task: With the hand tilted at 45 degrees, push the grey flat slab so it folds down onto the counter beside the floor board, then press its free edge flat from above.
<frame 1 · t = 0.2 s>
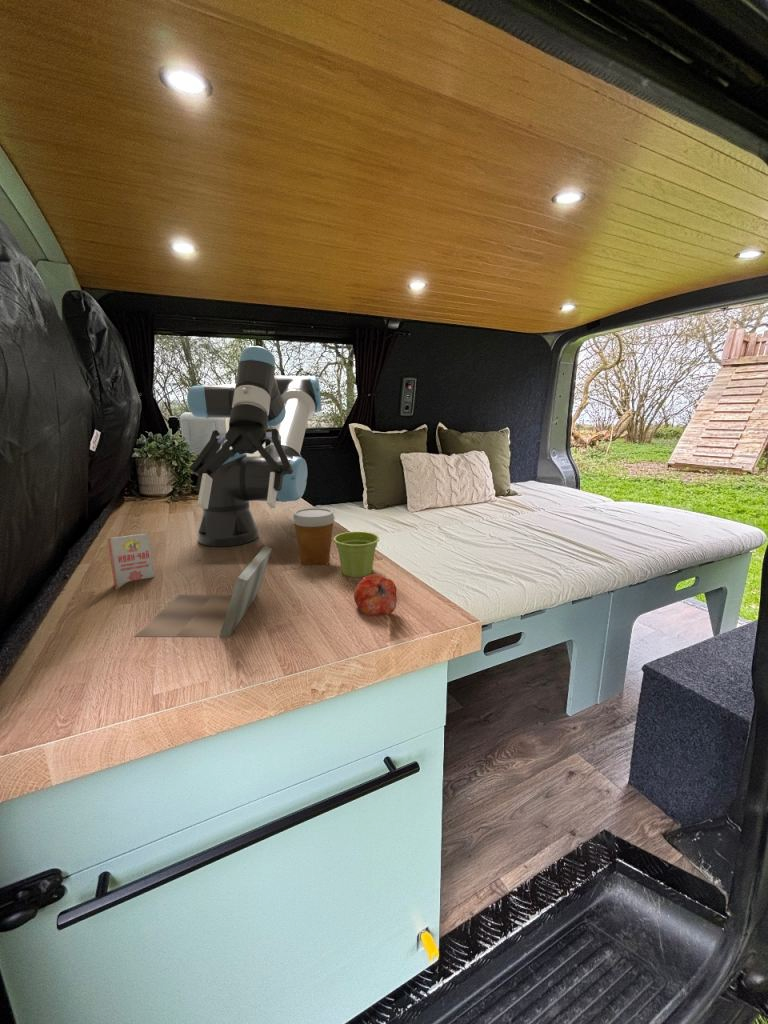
hand: (236, 506, 79), 16 cm above the countertop, tool tilted 35°, fingers open, 13 cm apart
plant pot: (356, 577, 86), on the countertop
grey flat slab: (247, 588, 66), point 6 cm above the countertop, hinge at 70.0°
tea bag: (135, 584, 81), on the countertop
pomegranate: (375, 614, 70), on the countertop
floorboard: (196, 621, 67), on the countertop
disposable coffee cup: (315, 563, 93), on the countertop
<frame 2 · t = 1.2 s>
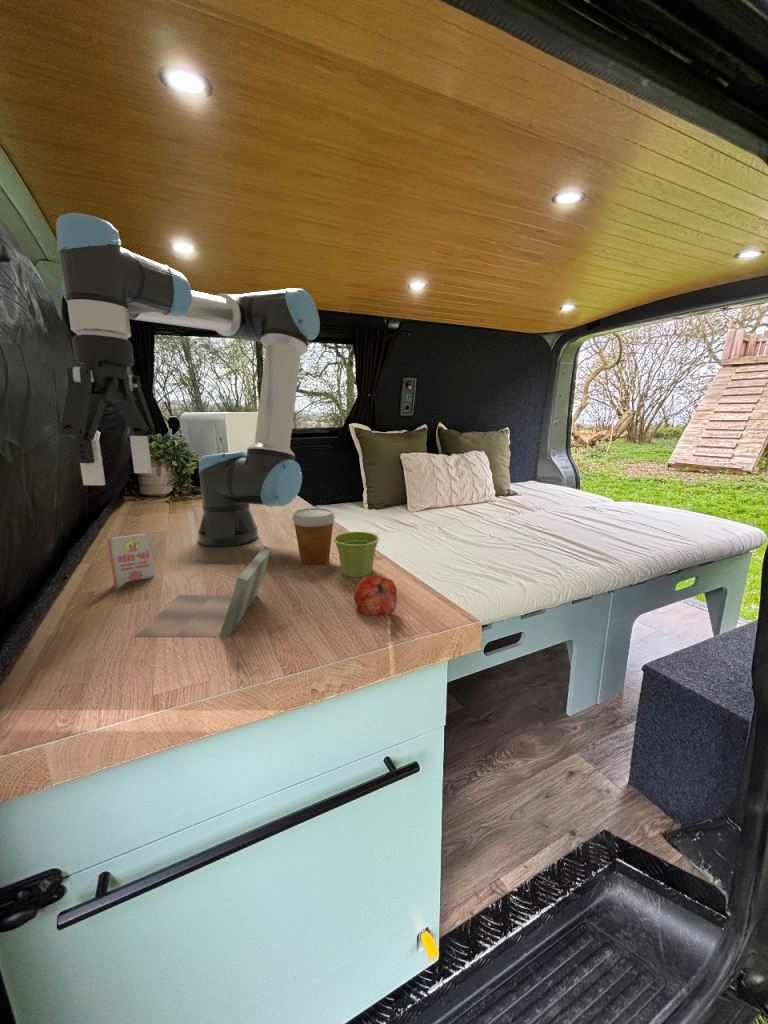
hand: (121, 478, 66), 23 cm above the countertop, tool pointing down, fingers open, 12 cm apart
nothing on the countertop moved.
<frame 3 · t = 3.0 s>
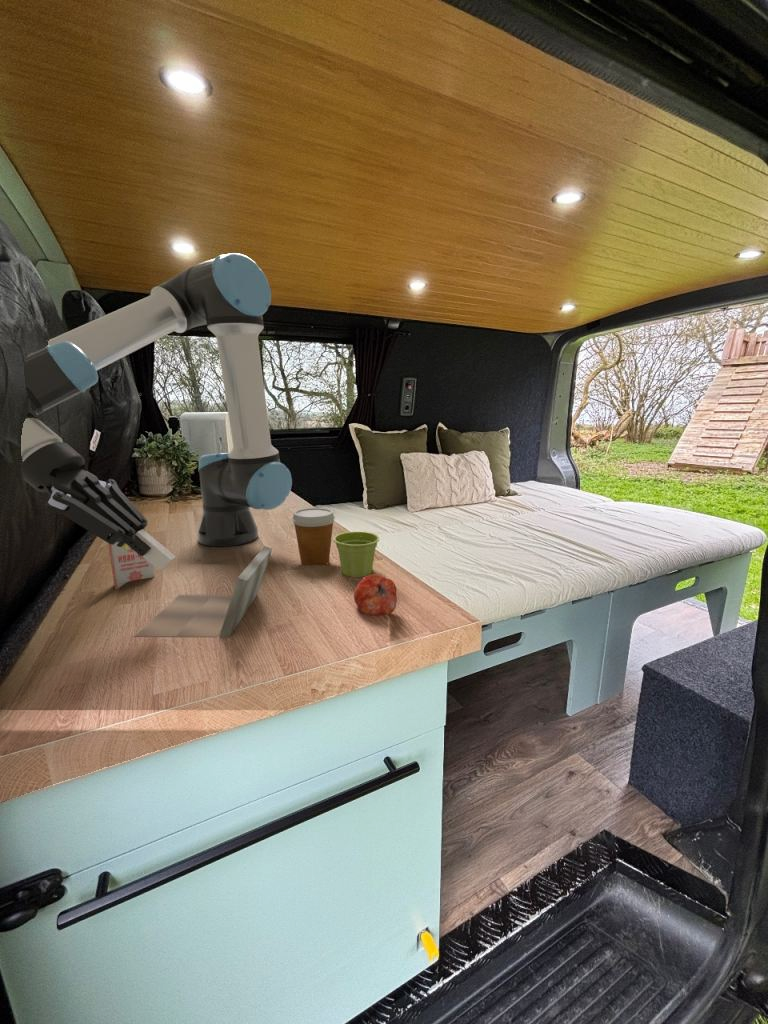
hand: (168, 564, 64), 10 cm above the countertop, tool tilted 45°, fingers closed
nothing on the countertop moved.
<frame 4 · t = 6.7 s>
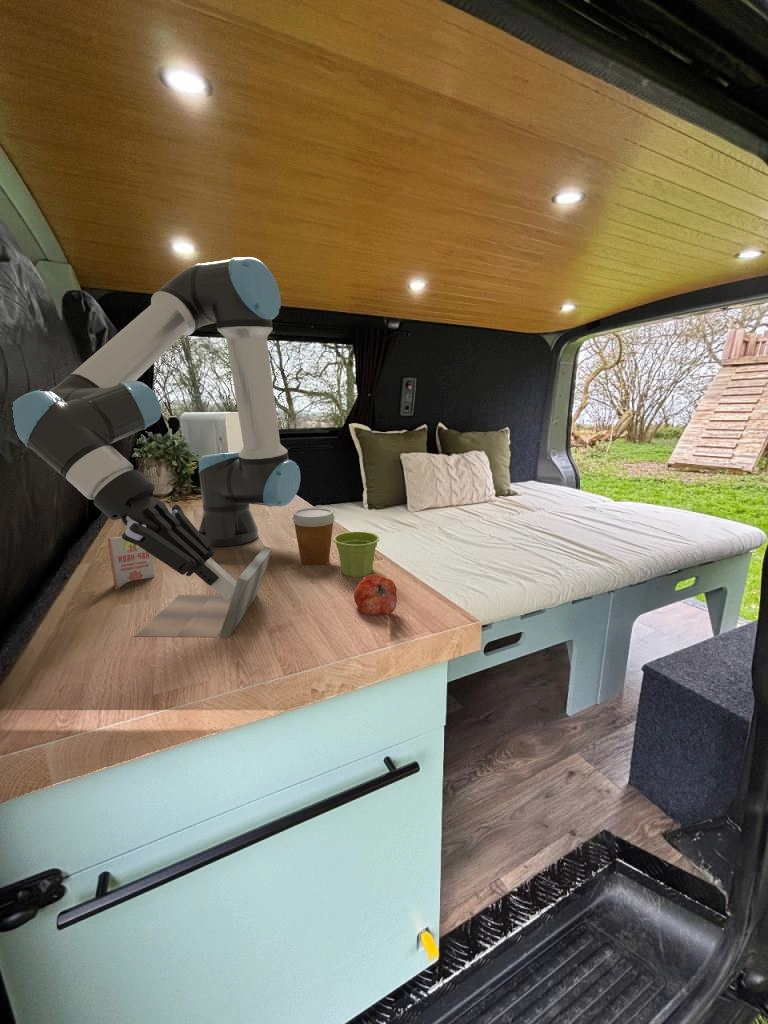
hand: (234, 593, 64), 6 cm above the countertop, tool tilted 45°, fingers closed
grey flat slab: (248, 588, 66), point 6 cm above the countertop, hinge at 69.5°, touching gripper
everything else where it was.
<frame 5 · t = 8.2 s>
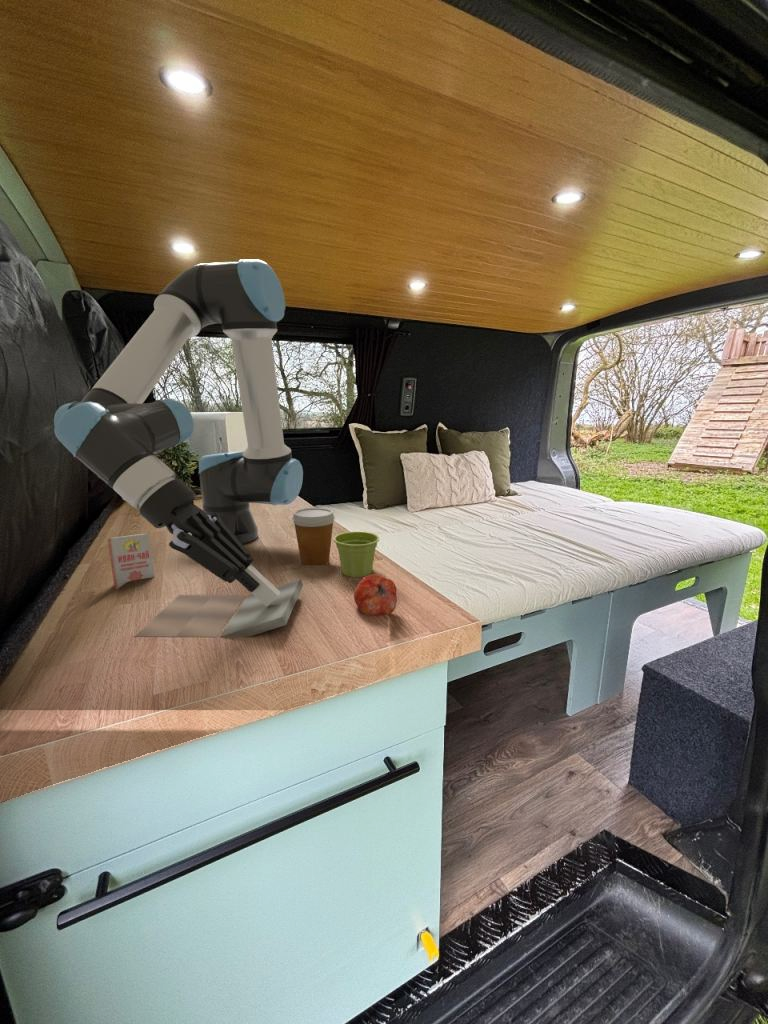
hand: (273, 599, 65), 5 cm above the countertop, tool tilted 45°, fingers closed
grey flat slab: (265, 608, 67), point 2 cm above the countertop, hinge at 19.1°, touching gripper
everything else where it was.
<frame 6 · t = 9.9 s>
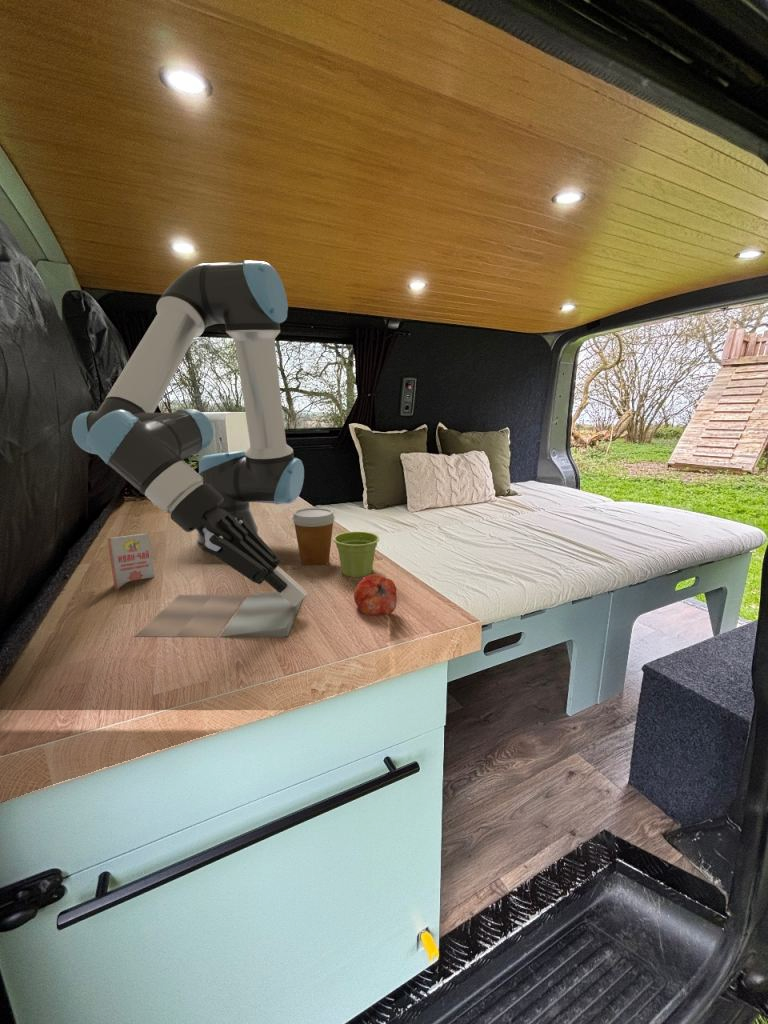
hand: (300, 599, 66), 4 cm above the countertop, tool tilted 45°, fingers closed
grey flat slab: (266, 613, 67), point 1 cm above the countertop, hinge at 8.7°
everything else where it was.
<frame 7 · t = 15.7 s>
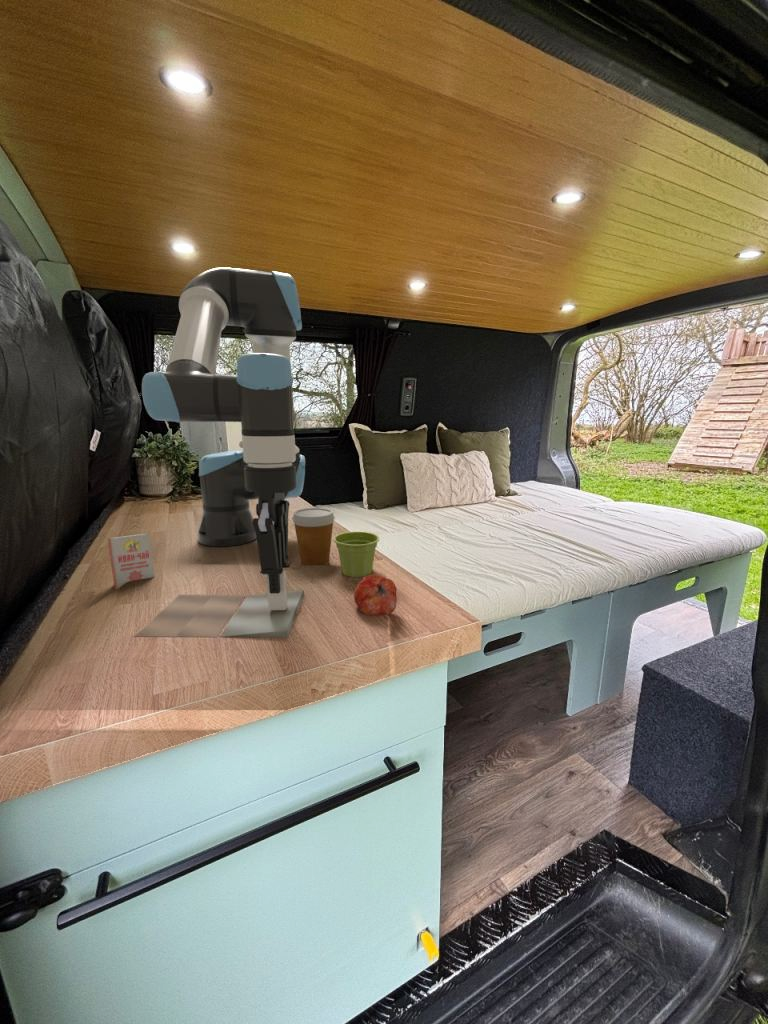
hand: (278, 607, 66), 3 cm above the countertop, tool pointing down, fingers closed
grey flat slab: (266, 614, 67), point 1 cm above the countertop, hinge at 6.1°, touching gripper
everything else where it was.
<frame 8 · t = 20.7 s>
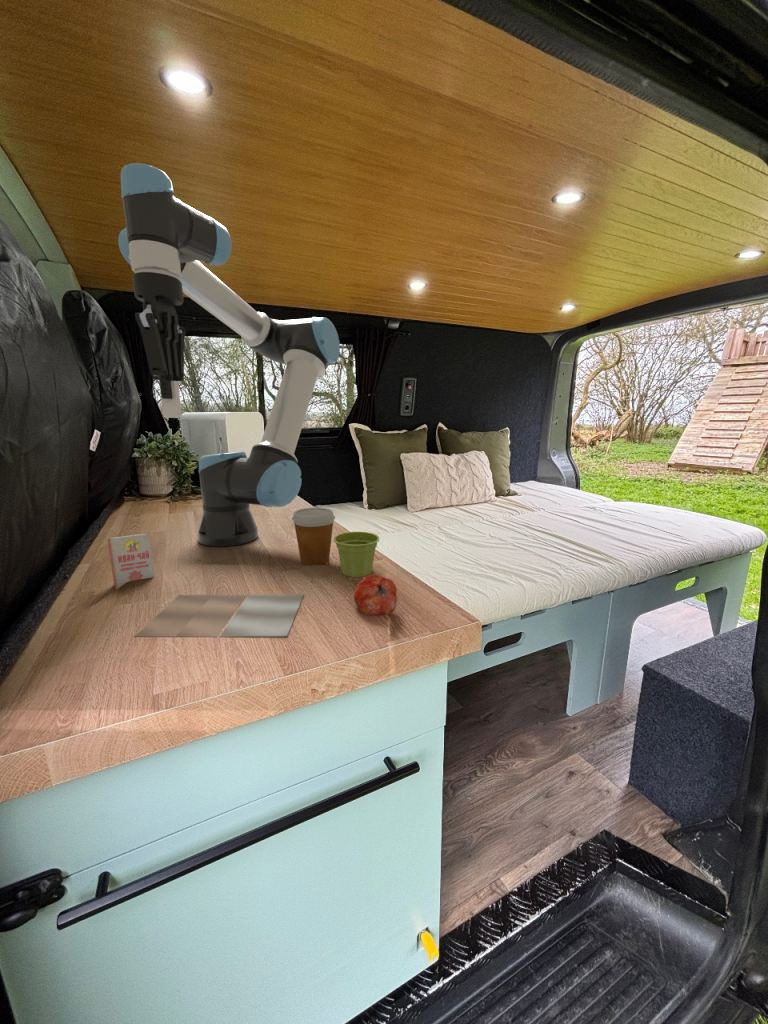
hand: (172, 417, 75), 32 cm above the countertop, tool pointing down, fingers closed
grey flat slab: (266, 617, 67), point 1 cm above the countertop, hinge at 1.3°
everything else where it was.
at the end: grey flat slab at +1° (first picture: +70°); the gripper is holding nothing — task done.
